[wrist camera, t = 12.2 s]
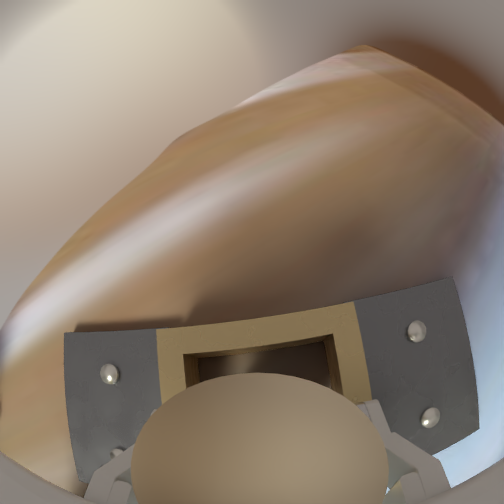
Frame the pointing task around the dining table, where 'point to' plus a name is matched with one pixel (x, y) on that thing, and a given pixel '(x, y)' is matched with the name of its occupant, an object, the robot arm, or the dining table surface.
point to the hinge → (275, 337)
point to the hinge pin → (259, 446)
